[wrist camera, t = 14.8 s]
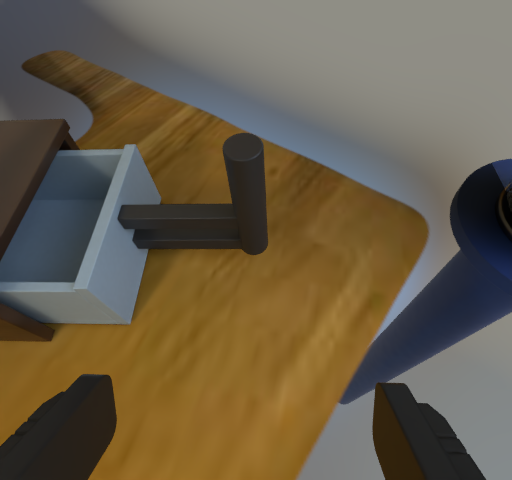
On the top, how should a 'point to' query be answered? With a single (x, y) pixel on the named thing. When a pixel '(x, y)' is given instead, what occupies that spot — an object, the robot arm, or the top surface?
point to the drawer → (119, 231)
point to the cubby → (25, 198)
